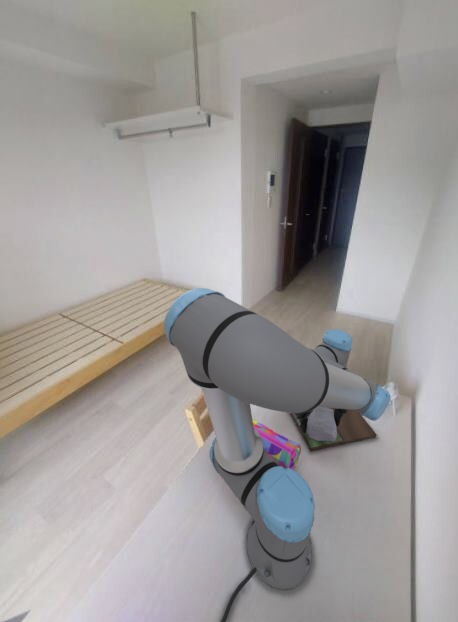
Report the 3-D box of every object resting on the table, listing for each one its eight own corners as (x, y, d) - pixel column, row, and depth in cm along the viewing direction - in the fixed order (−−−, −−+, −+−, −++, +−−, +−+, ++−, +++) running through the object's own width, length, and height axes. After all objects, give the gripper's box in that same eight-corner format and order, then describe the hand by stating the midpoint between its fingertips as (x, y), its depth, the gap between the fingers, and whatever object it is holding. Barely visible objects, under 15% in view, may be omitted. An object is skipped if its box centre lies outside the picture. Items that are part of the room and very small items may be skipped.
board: (310, 452, 87) (310, 448, 86) (282, 397, 107) (282, 394, 107) (375, 437, 91) (376, 434, 90) (336, 387, 112) (337, 384, 111)
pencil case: (228, 444, 90) (228, 425, 85) (243, 424, 96) (244, 406, 92) (289, 482, 78) (292, 463, 74) (301, 457, 85) (305, 438, 81)
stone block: (306, 442, 88) (338, 443, 86) (304, 432, 86) (338, 432, 84) (304, 414, 99) (333, 414, 96) (303, 404, 97) (332, 404, 94)
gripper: (298, 392, 76) (291, 443, 86) (372, 379, 80) (357, 428, 90) (287, 375, 82) (282, 423, 93) (357, 363, 86) (344, 411, 97)
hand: (319, 426), depth 91 cm, fingers closed on stone block, 11 cm apart
